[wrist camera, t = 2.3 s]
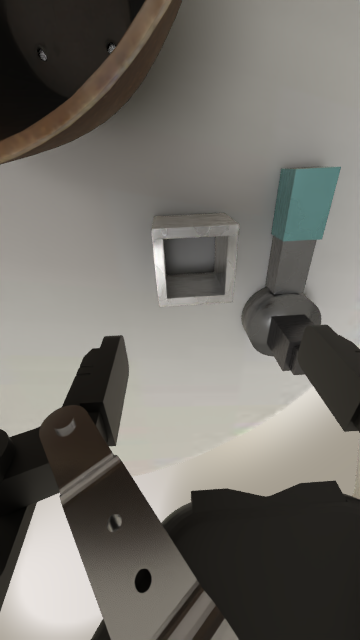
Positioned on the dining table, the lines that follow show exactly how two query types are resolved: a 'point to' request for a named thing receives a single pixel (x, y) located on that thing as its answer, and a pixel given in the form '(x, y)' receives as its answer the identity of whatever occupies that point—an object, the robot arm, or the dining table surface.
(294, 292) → the ratchet
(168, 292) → the square metal tube
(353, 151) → the dining table surface
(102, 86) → the plant pot
